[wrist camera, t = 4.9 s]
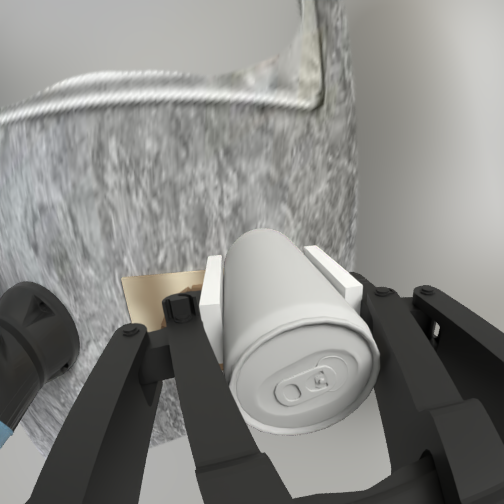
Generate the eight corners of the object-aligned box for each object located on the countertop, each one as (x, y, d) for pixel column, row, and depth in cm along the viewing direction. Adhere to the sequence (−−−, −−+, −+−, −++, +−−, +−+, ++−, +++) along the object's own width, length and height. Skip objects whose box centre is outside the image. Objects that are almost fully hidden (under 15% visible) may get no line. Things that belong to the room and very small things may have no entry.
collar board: (147, 368, 37) (142, 381, 34) (122, 277, 33) (114, 286, 31) (288, 358, 38) (292, 371, 35) (285, 262, 35) (290, 270, 32)
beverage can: (307, 279, 20) (392, 399, 8) (242, 307, 20) (262, 453, 8) (281, 214, 18) (368, 283, 7) (211, 245, 18) (191, 358, 7)
